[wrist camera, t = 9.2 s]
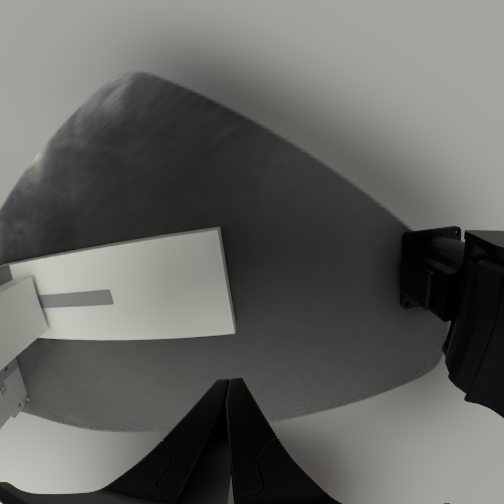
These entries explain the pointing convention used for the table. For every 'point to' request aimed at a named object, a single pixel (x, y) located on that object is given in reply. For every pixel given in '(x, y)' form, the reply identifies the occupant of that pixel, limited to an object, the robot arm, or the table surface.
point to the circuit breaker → (11, 391)
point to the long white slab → (134, 288)
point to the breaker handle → (19, 318)
